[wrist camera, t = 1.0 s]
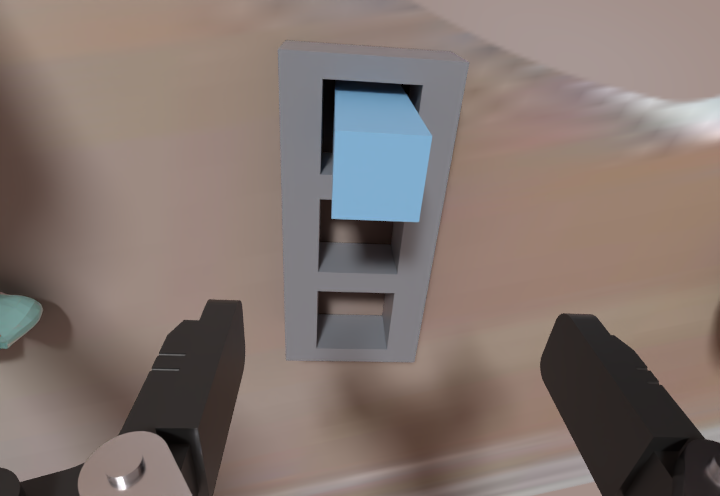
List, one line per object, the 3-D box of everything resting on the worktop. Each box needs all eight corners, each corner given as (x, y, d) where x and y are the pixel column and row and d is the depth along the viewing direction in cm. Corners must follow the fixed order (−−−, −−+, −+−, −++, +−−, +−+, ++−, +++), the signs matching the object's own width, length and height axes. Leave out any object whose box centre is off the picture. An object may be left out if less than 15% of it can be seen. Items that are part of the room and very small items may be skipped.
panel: (285, 40, 26) (277, 49, 22) (452, 51, 27) (469, 62, 23) (290, 325, 37) (286, 360, 34) (407, 327, 38) (414, 362, 34)
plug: (335, 79, 27) (334, 130, 18) (399, 83, 27) (432, 136, 18) (332, 142, 29) (331, 218, 20) (392, 145, 29) (419, 222, 20)
